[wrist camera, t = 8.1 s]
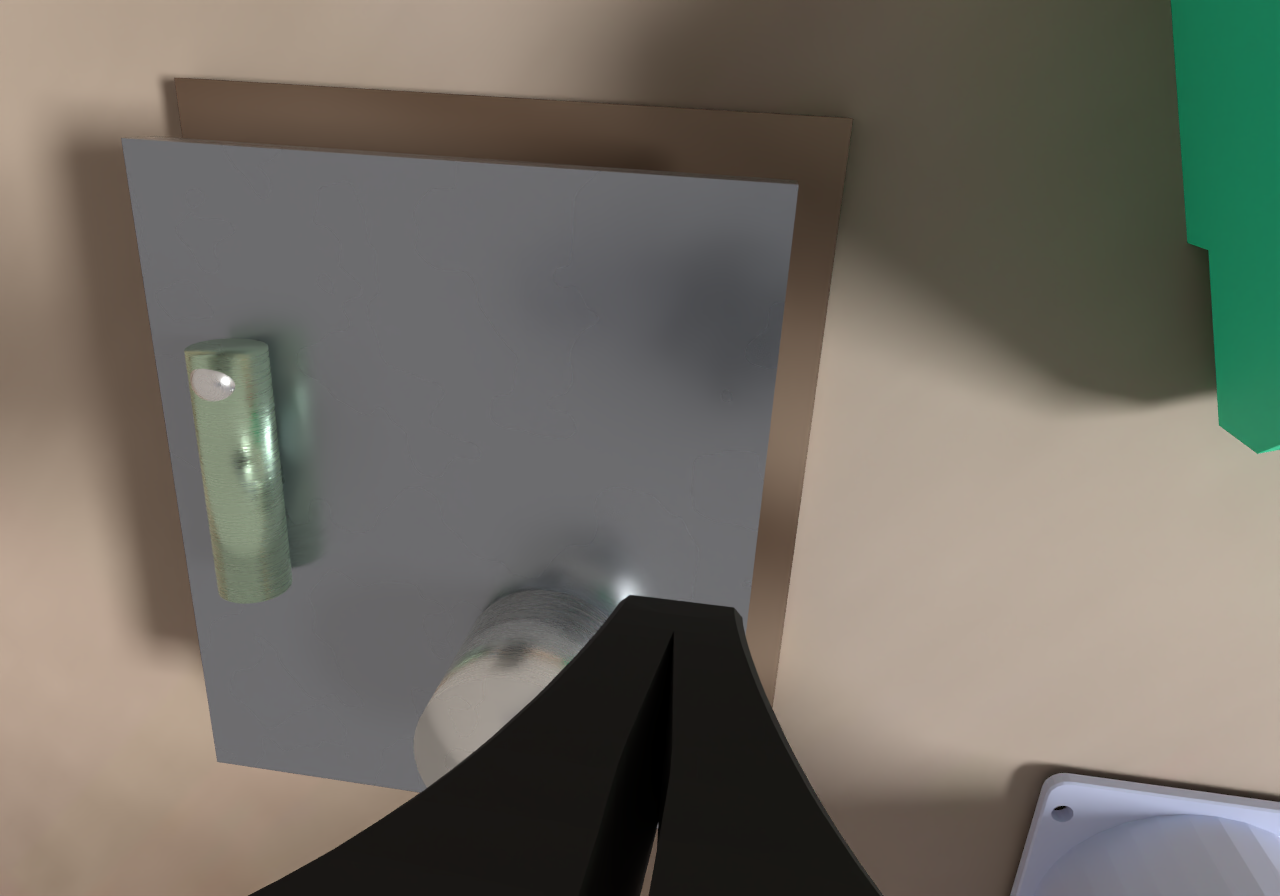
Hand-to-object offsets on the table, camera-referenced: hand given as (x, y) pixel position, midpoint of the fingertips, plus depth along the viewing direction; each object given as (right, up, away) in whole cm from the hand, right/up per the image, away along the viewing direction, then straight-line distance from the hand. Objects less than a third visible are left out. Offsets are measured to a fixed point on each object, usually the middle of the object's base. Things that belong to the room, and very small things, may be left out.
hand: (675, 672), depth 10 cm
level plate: (-4, +1, +8) cm, 9 cm away
